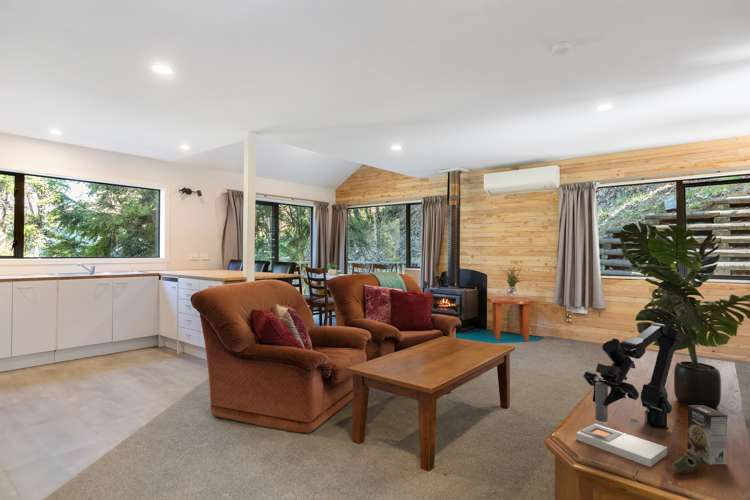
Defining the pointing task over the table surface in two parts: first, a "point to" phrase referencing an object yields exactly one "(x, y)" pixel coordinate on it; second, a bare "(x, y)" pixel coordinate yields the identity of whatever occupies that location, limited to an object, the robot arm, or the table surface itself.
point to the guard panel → (623, 445)
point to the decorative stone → (687, 464)
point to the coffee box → (707, 434)
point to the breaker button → (601, 433)
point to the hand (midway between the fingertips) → (598, 403)
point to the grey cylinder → (601, 403)
